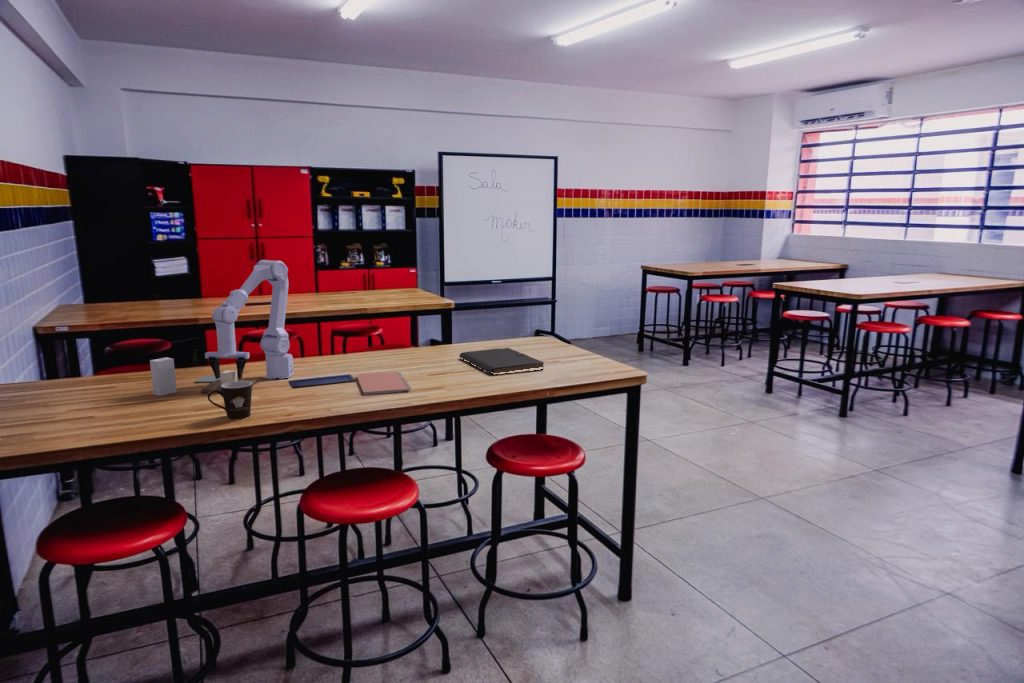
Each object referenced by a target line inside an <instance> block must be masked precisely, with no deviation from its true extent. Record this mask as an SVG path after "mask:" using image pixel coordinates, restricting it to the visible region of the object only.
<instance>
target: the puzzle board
mask: <svg viewBox="0 0 1024 683" xmlns="http://www.w3.org/2000/svg"><path fill="white" fill-rule="evenodd" d="M237 381H249V382H252V387H254V386H255V385H257V384H256V383H257V379H237ZM254 384H255V385H254ZM253 385H254V386H253ZM215 390H217V391H220V392H222V389H221V379H217V380H215V381H214V382H212V383H208V384H207V385H205V386H204V387H202V388H201V393H202V392H212V391H215Z"/></svg>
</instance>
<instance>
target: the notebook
mask: <svg viewBox="0 0 1024 683" xmlns="http://www.w3.org/2000/svg"><path fill="white" fill-rule="evenodd" d="M355 375H356V378H357V380H358V383H359V385H360V388H361V391H362V393H363V395H364V396H368V395H381V394H383V393H384V394H393V393H394V392H397V393H404V392H403V391H409V392H410V389H411V390H412V387H411V385H410V384H409V382H408V381H407V380H406V379H405V377H404V376H403V374H402V373H401V372H400V371H398V370H397V371H384V372H383V371H382V372H370V373H369V372H368V373H367V372H366V373H356V374H355ZM401 376H402V377H401ZM404 380H405V381H404ZM409 387H410V389H409ZM384 394H383V395H384Z"/></svg>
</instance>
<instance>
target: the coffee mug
mask: <svg viewBox="0 0 1024 683" xmlns="http://www.w3.org/2000/svg"><path fill="white" fill-rule="evenodd" d="M221 389H222V392H220V391H217V390H215V391H212V392H210V393H207V399H208V401H209V403H211V404H212V405H213V406H216V407H218V408H221V409H223V410H224V411H225V413H226V417H228V418H230V419H229V420H231V419H239V420H243V419H242V418H245V419H247V418H246V417H248V418H250V417H249V416H251V409H252V408H251V407H252V395H253V394H252V391H253V386H252V382H249V381H234V382H228V383H224V384H222V385H221ZM215 392H217V393H215ZM212 394H219V395H220V396H221V397H222V398H223V402H224V406H222V405H220V404H217V403H215V402H213V400H211V395H212ZM228 418H227V419H228Z"/></svg>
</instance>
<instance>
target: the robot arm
mask: <svg viewBox="0 0 1024 683" xmlns="http://www.w3.org/2000/svg"><path fill="white" fill-rule="evenodd" d="M288 272H289V268H288V267H287V265H286V264H285V262H283V261H282V260H268V259H261V260H259V261H258V262H257V263H256V264H255V265H254V266H253V270H252V272H251V273H250V275H249V276H248V277H247V279H246V280H245V281H244V282H243V284H242V286H241V287H240V288H239V289H234V290H231V291H230V292H229V296H227V298H226V299H225V300H224V301H222V302H221V305H219V306H216V307H215V308H214V309H213V311H212V314H211V318H212V320H213V321H214V323H215V327H216V338H217V340H216V341H217V351H208V352H204V357H205V358H204V359H207V364H208V365H209V367H210V368H211V370H212V372H213V374H214V375H213V376H215V378H216V379H218V378H220V376H221V368H220V364H221V363H220V362H221V359H235V365H236V371H237V380H242V378H243V373H244V369H245V366H246V365H247V361H248V359H249V358H250V351H248V352H247V351H246V352H245V351H237V345H236V344H237V342H236V331H235V329H236V327H235V321H237V320H238V316H239V313H240V311H241V310H242V308H243V307H244V306H245V305H246V304H247V302H248V301H249V295H250V294H251V293H252V292H253V291H254V290H255V289H256V288H257V287H258V286H259V285H260V284H261V283H262V282H263V281H267V282H268V283H269V284H270V285H271V287H272V290H271V292H272V293H271V301H270V310H269V318H268V320H269V321H268V327H267V328H266V330H264V332H263V334H262V338H261V339H260V349H262V351H263V352H264V354H265V367H266V370H265V371H266V375H264V376H263V377H262V379H263V378H264V379H265V378H266V380H267V379H272V380H273V379H274V380H276V378H279V379H281V380H283V379H284V380H285V378H288V379H290V378H291V377H292V376H293V375H295V372H294V371H295V370H294V357H293V354H291V353H288V351H289V349H290V347H291V346H290V345H291V344H290V340H289V336H290V335H289V333H288V332H287V331H286V330H285V324H286V323H285V322H286V315H287V314H286V313H287V312H286V311H287V306H288V296H289V295H288V294H289V293H288V292H289V285H290V284H289V283H290V282H289V277H288ZM289 377H290V378H289Z"/></svg>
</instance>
